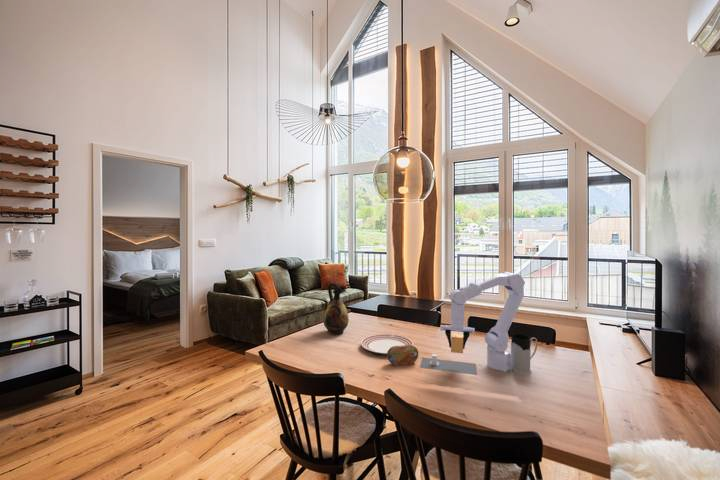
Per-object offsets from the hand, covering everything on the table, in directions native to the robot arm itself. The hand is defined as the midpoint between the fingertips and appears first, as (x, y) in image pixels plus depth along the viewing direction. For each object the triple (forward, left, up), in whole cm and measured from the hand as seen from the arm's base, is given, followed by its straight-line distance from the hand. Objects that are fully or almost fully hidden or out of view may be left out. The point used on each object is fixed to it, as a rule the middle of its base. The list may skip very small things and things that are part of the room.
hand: (456, 347), depth 143 cm
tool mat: (+3, +2, -10) cm, 11 cm away
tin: (+21, +12, -10) cm, 26 cm away
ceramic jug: (+78, +5, -10) cm, 79 cm away
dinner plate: (+39, +2, -11) cm, 41 cm away
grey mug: (-21, -23, -10) cm, 33 cm away
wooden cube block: (0, 0, -1) cm, 1 cm away
